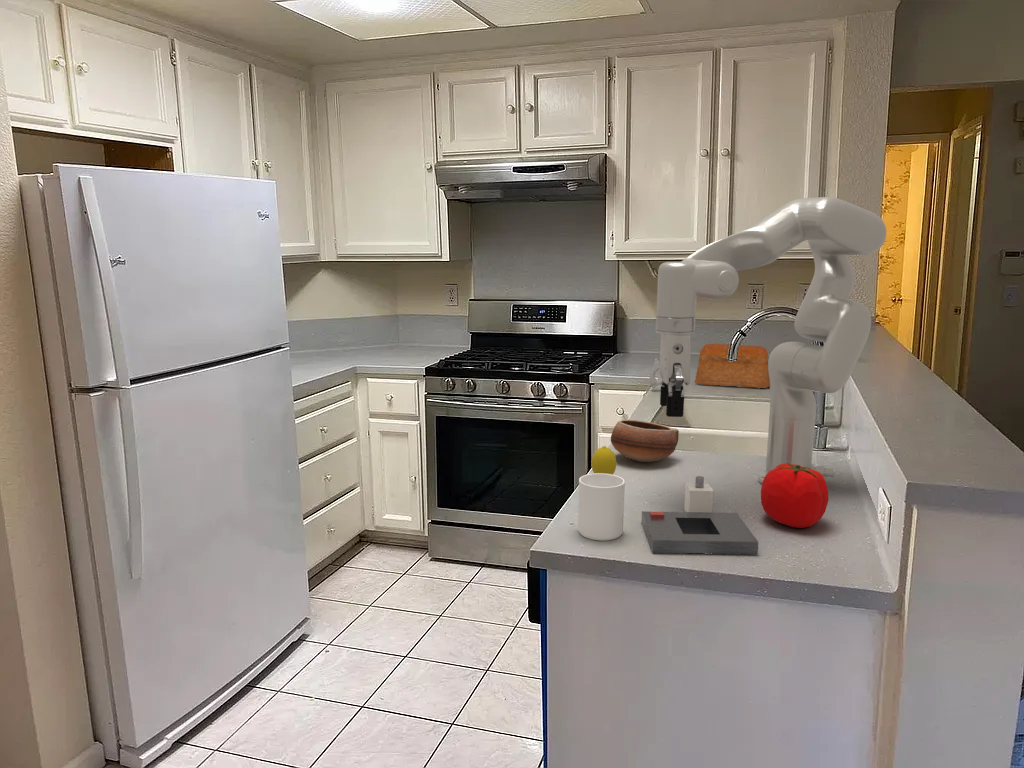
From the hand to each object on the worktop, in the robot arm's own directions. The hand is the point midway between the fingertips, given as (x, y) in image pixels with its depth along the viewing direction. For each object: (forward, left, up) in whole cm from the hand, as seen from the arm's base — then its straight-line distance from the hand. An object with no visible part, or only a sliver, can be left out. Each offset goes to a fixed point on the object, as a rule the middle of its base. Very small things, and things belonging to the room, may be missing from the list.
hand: (671, 410), depth 150 cm
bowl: (+1, -31, -20) cm, 37 cm away
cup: (+15, +14, -20) cm, 28 cm away
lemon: (+12, -15, -20) cm, 28 cm away
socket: (-2, +18, -20) cm, 27 cm away
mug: (-19, -117, -20) cm, 120 cm away
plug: (-5, +5, -20) cm, 21 cm away
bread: (-47, -133, -20) cm, 143 cm away
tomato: (-22, +9, -20) cm, 31 cm away
